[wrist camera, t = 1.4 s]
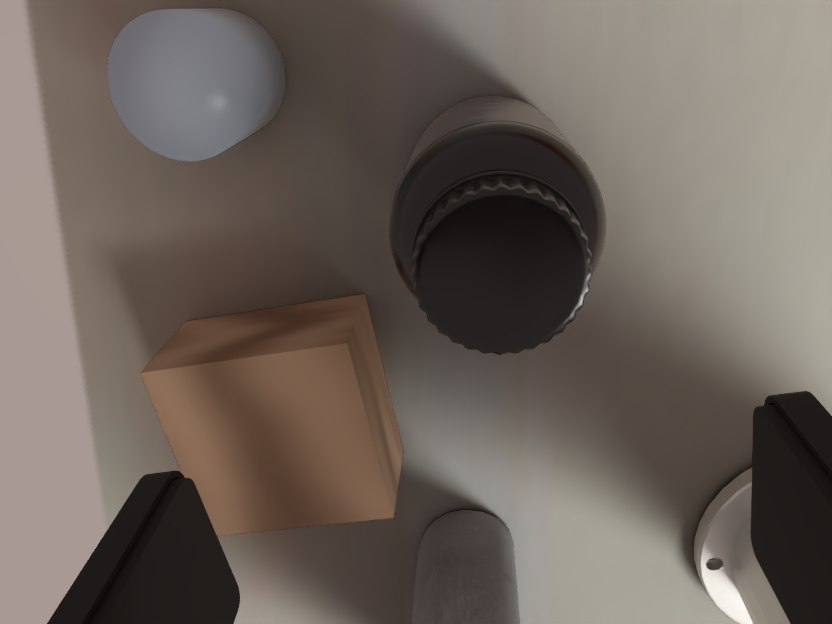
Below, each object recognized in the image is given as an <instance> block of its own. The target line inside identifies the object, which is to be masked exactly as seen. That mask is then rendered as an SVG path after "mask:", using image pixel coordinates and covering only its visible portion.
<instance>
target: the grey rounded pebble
mask: <svg viewBox="0 0 832 624" xmlns="http://www.w3.org/2000/svg"><path fill="white" fill-rule="evenodd" d="M107 84H108V89H109V94H110V97H111V101H112V103H113V106H114V108H115V110H116V113H117V114H118V116H119V118H120V120H121V121H122V123H123V124H124V126H125V127H126V128H127V130H128V131H129V132H130V133H131V134H132V135H133V136H134V137H135V138H136V139H137V140H138V141H139V142H140V143H141V144H143V145H144V146H146V147H147V148H148V149H150V150H152V151H153V152H155V153H157V154H159V155H162V156H164V157H166V158H170V159H174V160H179V161H201V160H205V159H209V158H212V157H214V156H216V155H218V154H220V153H222V152H223V151H225V150H227V149H228V148H230V147H232V146H233V145H235V144H237V143H238V142H240V141H242V140H243V139H245V138H247V137H248V136H250V135H252V134H253V133H255V132H257V131H258V130H260V129H261V128H263V127H264V126H266V125H267V124H268V123H269V122H270V121H271V120H272V119H273V118H274V117H275V115H276V113H277V112H278V110H279V108H280V106H281V104H282V101H283V98H284V94H285V89H286V73H285V67H284V62H283V59H282V56H281V53H280V51H279V49H278V47H277V45H276V43H275V42H274V40H273V38H272V37H271V36H270V35H269V33H268V32H267V31H266V30H265V29H264V28H263V27H262V26H261V25H260V24H259V23H257V22H256V21H255V20H254V19H252V18H250V17H249V16H247V15H245V14H243V13H240V12H238V11H234V10H231V9H224V8H202V9H161V10H154V11H150V12H147V13H144V14H142V15H140V16H138V17H136V18H135V19H133V20H132V21H130V22H129V23H128V24H127V25H126V26H125V27H124V28H123V29H122V30H121V31H120V33H119V34H118V36H117V37H116V39H115V41H114V43H113V45H112V47H111V50H110V53H109V58H108V63H107Z"/></svg>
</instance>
